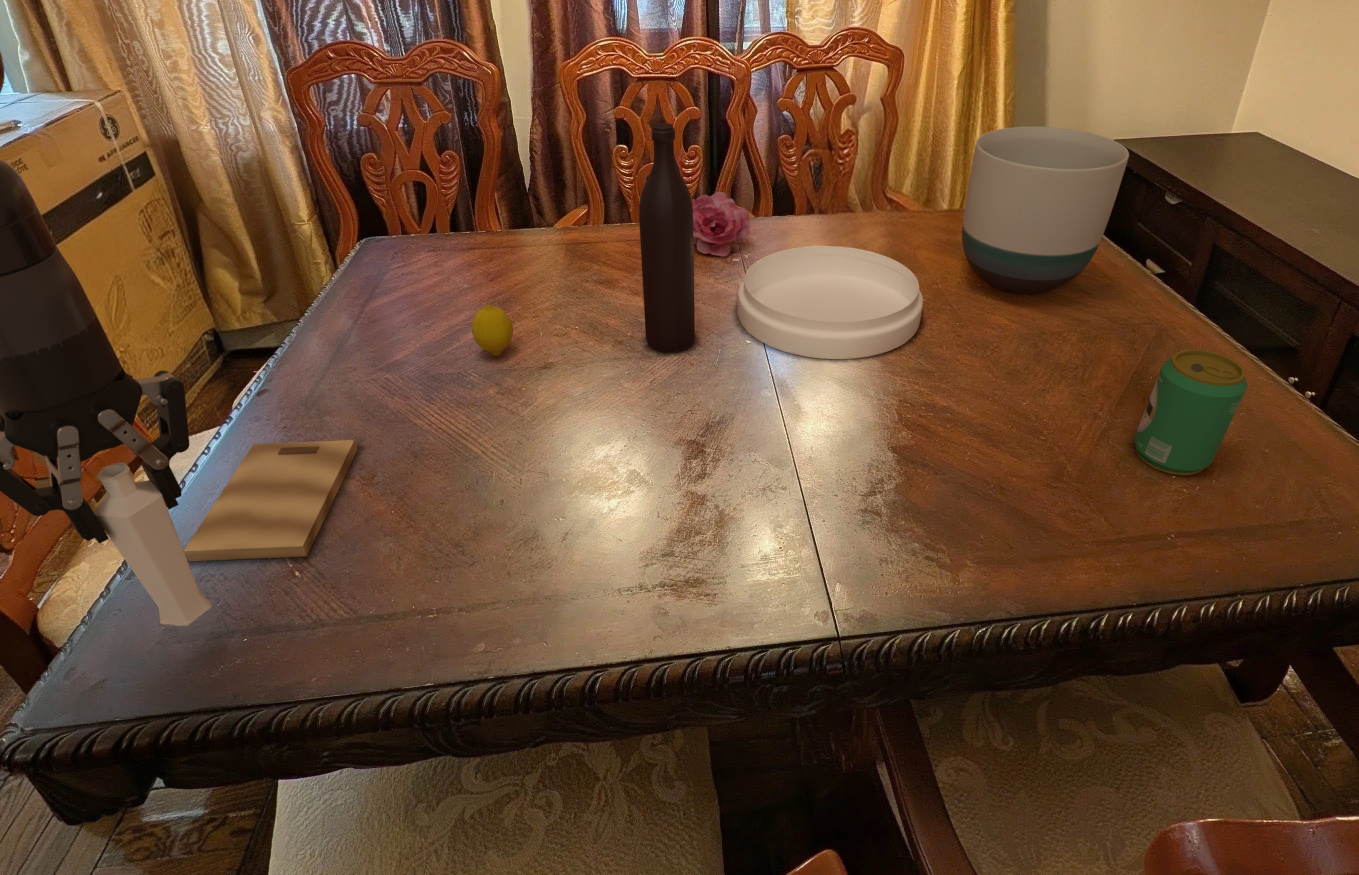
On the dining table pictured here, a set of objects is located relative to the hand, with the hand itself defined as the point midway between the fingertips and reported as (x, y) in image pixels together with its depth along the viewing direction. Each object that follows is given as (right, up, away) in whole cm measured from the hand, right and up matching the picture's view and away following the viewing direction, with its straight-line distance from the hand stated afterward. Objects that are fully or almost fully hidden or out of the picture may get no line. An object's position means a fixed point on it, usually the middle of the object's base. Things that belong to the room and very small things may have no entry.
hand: (135, 518), depth 63 cm
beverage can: (+98, +4, +29) cm, 103 cm away
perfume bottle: (0, -8, +6) cm, 11 cm away
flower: (+49, +40, +79) cm, 101 cm away
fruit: (+17, +18, +51) cm, 57 cm away
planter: (+96, +31, +65) cm, 120 cm away
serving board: (-2, -1, +26) cm, 27 cm away
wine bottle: (+41, +20, +53) cm, 70 cm away
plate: (+65, +25, +58) cm, 91 cm away
